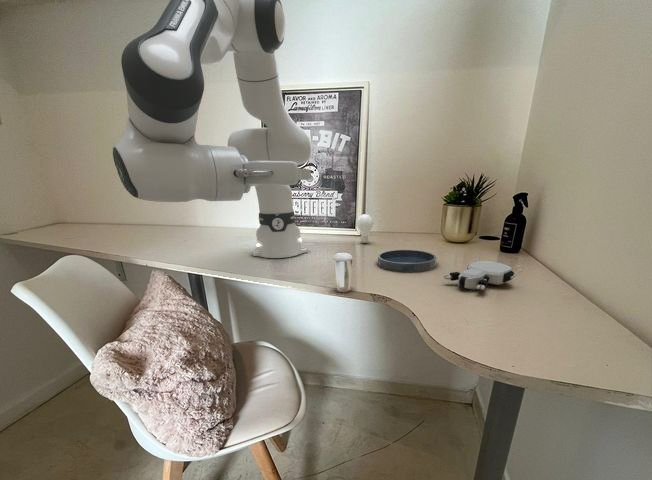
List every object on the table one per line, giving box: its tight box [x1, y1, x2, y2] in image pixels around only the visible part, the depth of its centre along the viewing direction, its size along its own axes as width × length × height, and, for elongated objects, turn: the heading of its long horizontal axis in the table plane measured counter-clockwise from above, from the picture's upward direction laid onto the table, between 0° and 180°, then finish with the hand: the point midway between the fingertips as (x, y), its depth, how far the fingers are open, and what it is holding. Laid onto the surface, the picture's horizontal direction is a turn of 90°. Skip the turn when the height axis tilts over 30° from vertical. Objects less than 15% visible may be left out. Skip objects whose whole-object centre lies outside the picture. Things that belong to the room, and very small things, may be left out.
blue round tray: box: [377, 249, 438, 273], centre depth 101 cm, size 17×17×2 cm
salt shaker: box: [332, 249, 357, 293], centre depth 79 cm, size 4×5×10 cm
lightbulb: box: [356, 213, 374, 244], centre depth 128 cm, size 6×6×11 cm
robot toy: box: [443, 259, 523, 291], centre depth 82 cm, size 12×4×15 cm
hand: (297, 175), depth 65 cm, fingers open, 8 cm apart
